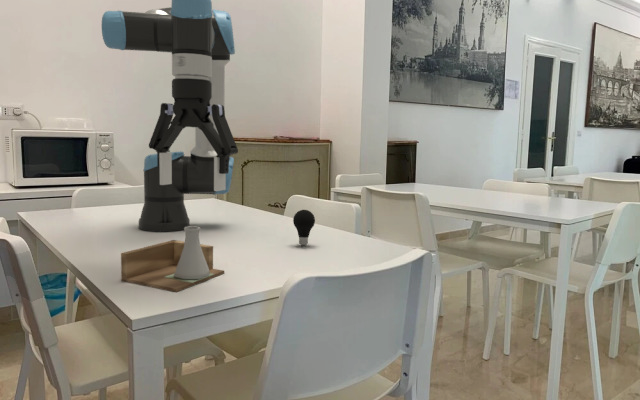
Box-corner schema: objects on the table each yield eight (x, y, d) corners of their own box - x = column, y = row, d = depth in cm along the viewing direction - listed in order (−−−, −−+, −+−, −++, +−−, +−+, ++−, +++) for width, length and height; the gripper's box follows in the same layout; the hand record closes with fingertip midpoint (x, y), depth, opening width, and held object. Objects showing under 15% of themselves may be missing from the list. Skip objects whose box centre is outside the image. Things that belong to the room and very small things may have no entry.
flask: (167, 278, 100) (166, 229, 99) (183, 269, 107) (183, 223, 106) (201, 282, 98) (201, 232, 97) (215, 272, 106) (216, 225, 104)
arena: (121, 280, 100) (121, 253, 99) (173, 264, 114) (173, 239, 113) (176, 292, 94) (176, 263, 94) (224, 273, 108) (224, 247, 107)
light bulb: (298, 249, 133) (299, 211, 131) (289, 244, 138) (290, 208, 136) (317, 247, 135) (319, 211, 134) (308, 243, 140) (309, 207, 139)
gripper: (129, 77, 99) (131, 183, 103) (233, 76, 89) (232, 195, 92) (156, 80, 106) (157, 180, 109) (257, 80, 96) (254, 190, 99)
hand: (192, 187), depth 101 cm, fingers open, 13 cm apart
